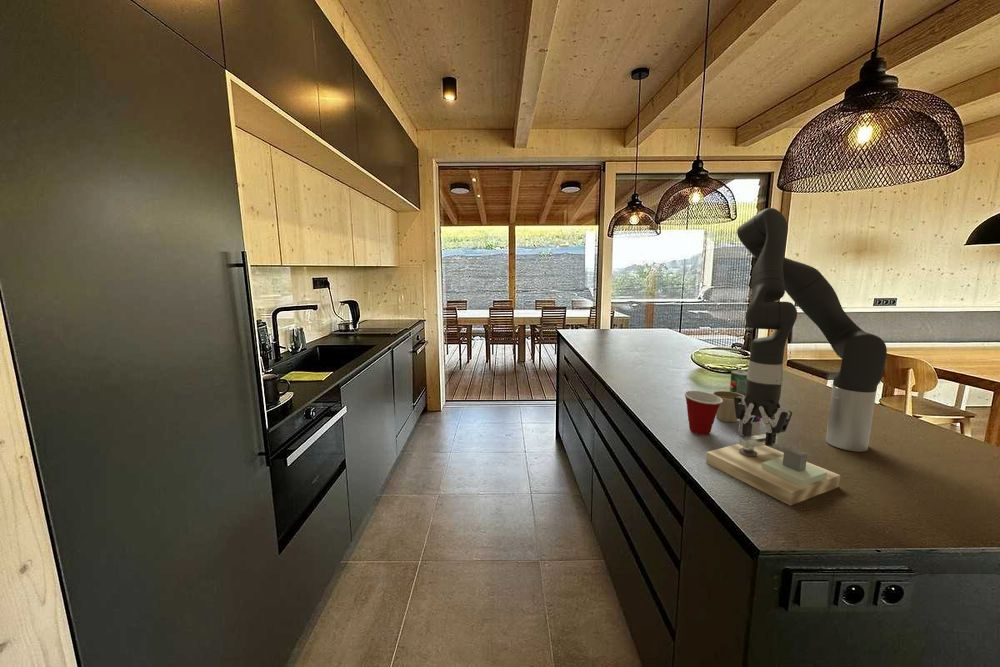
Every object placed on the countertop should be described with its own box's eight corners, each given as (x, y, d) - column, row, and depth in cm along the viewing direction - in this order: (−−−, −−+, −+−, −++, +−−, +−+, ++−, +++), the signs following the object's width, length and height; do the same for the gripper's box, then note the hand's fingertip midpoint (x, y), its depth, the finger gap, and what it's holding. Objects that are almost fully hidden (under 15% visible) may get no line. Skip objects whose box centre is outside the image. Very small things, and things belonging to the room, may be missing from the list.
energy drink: (762, 439, 117) (766, 401, 115) (742, 438, 118) (746, 400, 116) (754, 432, 122) (758, 395, 121) (735, 431, 124) (738, 394, 122)
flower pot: (712, 422, 131) (714, 397, 130) (709, 412, 140) (711, 389, 138) (744, 426, 128) (747, 400, 126) (739, 416, 136) (741, 392, 135)
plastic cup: (716, 442, 116) (720, 403, 114) (678, 433, 122) (680, 396, 121) (722, 430, 124) (725, 394, 122) (686, 422, 131) (688, 388, 129)
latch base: (751, 450, 111) (752, 438, 110) (838, 487, 91) (840, 472, 91) (705, 462, 104) (706, 449, 103) (790, 505, 84) (792, 490, 84)
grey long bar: (738, 449, 103) (739, 437, 102) (768, 445, 105) (770, 433, 104) (745, 453, 100) (746, 440, 100) (777, 449, 103) (778, 436, 102)
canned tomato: (757, 402, 150) (759, 375, 148) (736, 402, 150) (738, 375, 148) (744, 396, 158) (746, 369, 156) (724, 396, 158) (727, 369, 156)
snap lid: (785, 461, 98) (787, 440, 97) (826, 478, 90) (829, 455, 89) (761, 468, 94) (763, 447, 94) (802, 486, 86) (805, 463, 85)
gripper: (728, 373, 105) (723, 433, 108) (784, 388, 92) (776, 455, 95) (746, 370, 108) (741, 428, 111) (803, 384, 95) (796, 449, 98)
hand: (757, 440), depth 103 cm, fingers open, 5 cm apart
